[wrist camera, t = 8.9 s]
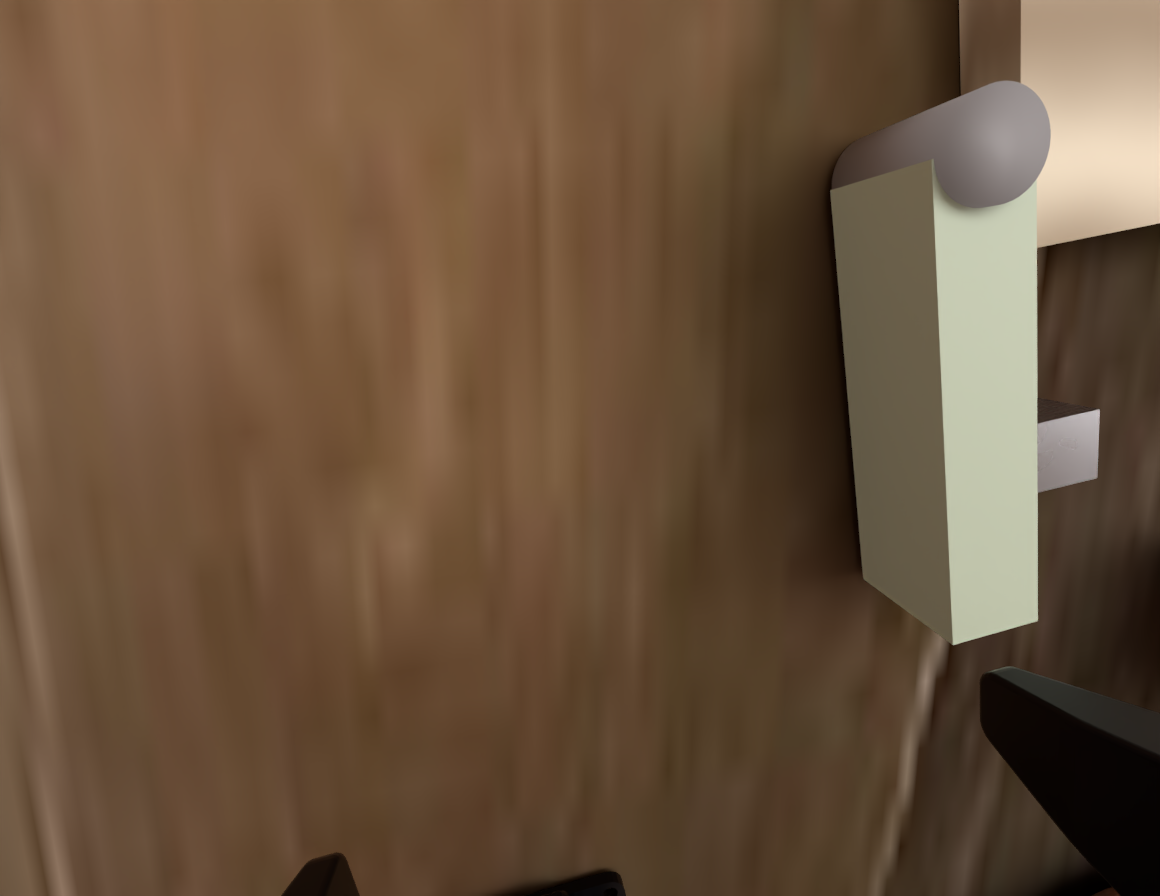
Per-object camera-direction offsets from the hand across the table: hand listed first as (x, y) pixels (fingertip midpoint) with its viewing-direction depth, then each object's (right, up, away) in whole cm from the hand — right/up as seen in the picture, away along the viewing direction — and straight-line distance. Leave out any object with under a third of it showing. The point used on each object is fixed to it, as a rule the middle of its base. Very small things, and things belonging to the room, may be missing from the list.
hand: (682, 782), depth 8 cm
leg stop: (+12, +5, +11) cm, 17 cm away
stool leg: (+8, +7, +10) cm, 15 cm away
